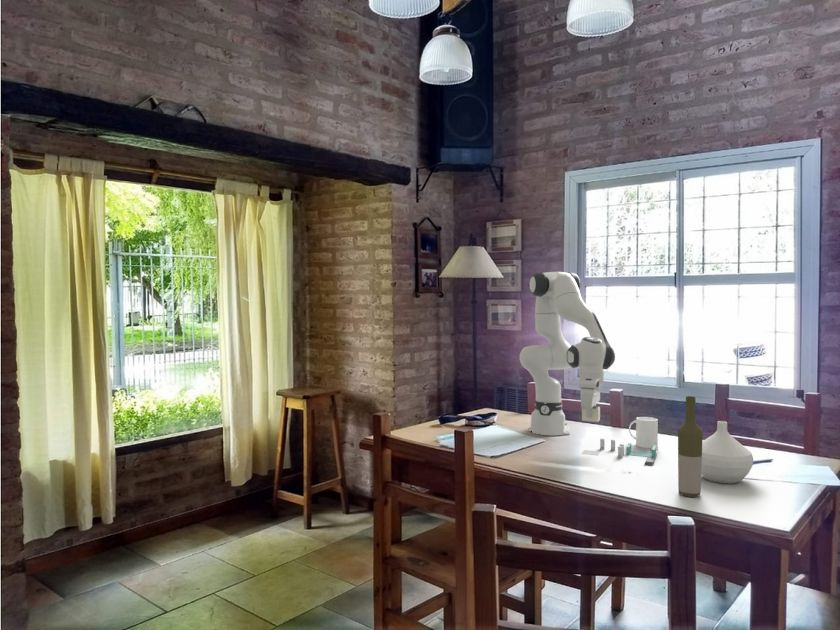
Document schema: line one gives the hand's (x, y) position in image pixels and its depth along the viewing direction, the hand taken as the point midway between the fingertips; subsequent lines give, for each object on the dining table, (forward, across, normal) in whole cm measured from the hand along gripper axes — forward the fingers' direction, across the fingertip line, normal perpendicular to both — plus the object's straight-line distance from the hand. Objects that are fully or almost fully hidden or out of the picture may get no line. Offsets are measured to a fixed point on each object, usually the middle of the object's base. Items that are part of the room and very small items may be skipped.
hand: (590, 416), depth 235 cm
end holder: (+14, -6, +18) cm, 23 cm away
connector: (+1, 0, 0) cm, 1 cm away
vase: (+15, +12, +45) cm, 49 cm away
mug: (+15, -22, +17) cm, 31 cm away
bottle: (+14, +34, +36) cm, 52 cm away
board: (+15, -3, +10) cm, 18 cm away
